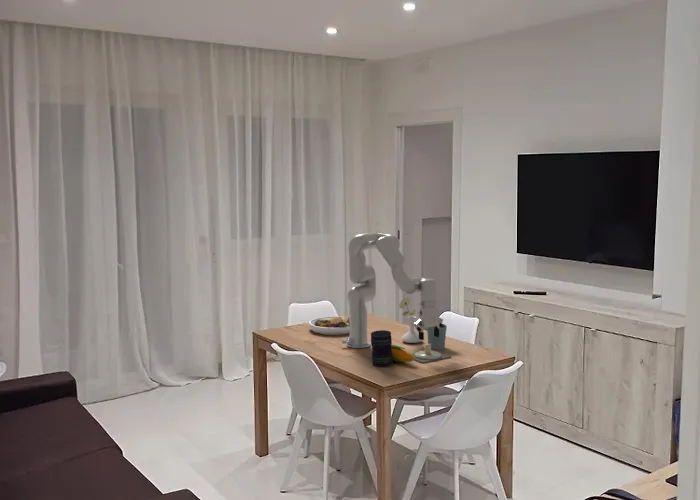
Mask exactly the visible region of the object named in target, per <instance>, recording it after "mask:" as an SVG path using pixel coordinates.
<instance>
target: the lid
mask: <svg viewBox="0 0 700 500" xmlns="http://www.w3.org/2000/svg"><path fill="white" fill-rule="evenodd" d="M431 350H432V349H431V344H429V343H428V342H427V343H424V350H419V351H418V350H417V351H415V352H414V354H415V357H416V358H419V359H424V360H434V359H438V358H440V357H441V353H442V352H440V353H439V351H437V350H434V351H431ZM436 351H437V352H436Z"/></svg>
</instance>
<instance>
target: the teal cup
mask: <svg viewBox="0 0 700 500" xmlns="http://www.w3.org/2000/svg"><path fill="white" fill-rule="evenodd" d="M434 328H435V327H431V328H426V330H427V331H426V332H427V343H429V344H431V350H434V351H441V350H444V349H445V347H446V346H445V345H446V335H447V324H444V323H442V325H441V327H440V329H439V337H435V336H434Z"/></svg>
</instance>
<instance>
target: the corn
mask: <svg viewBox="0 0 700 500" xmlns="http://www.w3.org/2000/svg"><path fill="white" fill-rule="evenodd" d="M391 351H392V356H393V358H392V362H396V363H400V362H401V363H402V362H403V363H412V362H413V361H415V360H414V358H415V357H414V356H413V355H412V354H413V353H411V352H409V351H406V349H405V347H402V346H400V345H395V344H391Z"/></svg>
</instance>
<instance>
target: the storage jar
mask: <svg viewBox="0 0 700 500" xmlns="http://www.w3.org/2000/svg"><path fill="white" fill-rule="evenodd" d="M392 343H393V342H392V332H391V331H390V330H385V329H384V330H383V329H381V330H375V331H372V332H371V333H370V346H371V350H372V351H371V361H372V366H374V367H377V368H387V367H391V366H392V365H393V363H394V361H392V358H393V356H392V351H391V345H393V344H392Z"/></svg>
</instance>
